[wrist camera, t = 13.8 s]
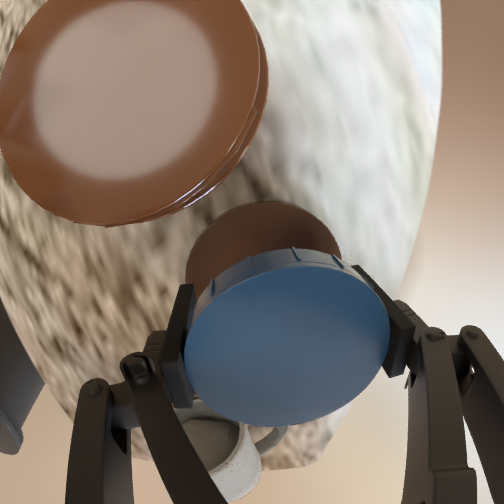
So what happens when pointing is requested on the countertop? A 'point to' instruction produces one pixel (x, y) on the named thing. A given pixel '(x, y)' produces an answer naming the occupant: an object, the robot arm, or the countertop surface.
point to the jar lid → (285, 338)
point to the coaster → (254, 238)
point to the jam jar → (130, 105)
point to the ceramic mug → (227, 448)
